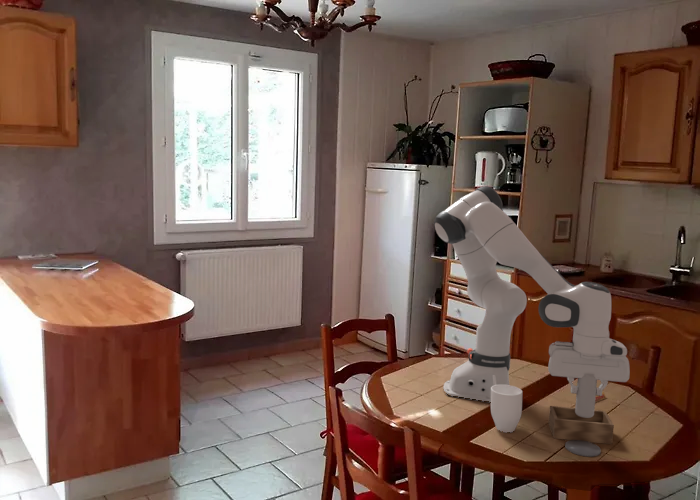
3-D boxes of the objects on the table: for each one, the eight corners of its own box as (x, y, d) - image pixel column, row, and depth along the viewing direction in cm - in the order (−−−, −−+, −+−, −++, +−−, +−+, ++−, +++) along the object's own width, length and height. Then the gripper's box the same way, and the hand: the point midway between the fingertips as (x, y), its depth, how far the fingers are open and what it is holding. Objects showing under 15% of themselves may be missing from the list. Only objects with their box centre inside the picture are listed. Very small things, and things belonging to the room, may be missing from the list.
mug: (520, 437, 176) (522, 396, 175) (488, 433, 179) (489, 392, 177) (521, 421, 187) (523, 382, 186) (491, 418, 190) (492, 379, 188)
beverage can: (595, 419, 166) (598, 375, 164) (575, 417, 167) (579, 373, 165) (592, 412, 170) (596, 370, 169) (573, 410, 171) (577, 368, 170)
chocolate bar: (580, 404, 204) (580, 397, 204) (599, 397, 212) (599, 390, 212) (587, 407, 202) (588, 400, 202) (606, 399, 210) (607, 392, 210)
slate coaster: (568, 454, 166) (568, 452, 166) (562, 440, 175) (562, 438, 175) (603, 458, 165) (604, 456, 165) (596, 443, 174) (596, 441, 173)
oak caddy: (553, 438, 176) (555, 419, 176) (548, 423, 187) (549, 405, 186) (612, 444, 174) (613, 425, 173) (603, 428, 184) (605, 410, 183)
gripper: (551, 343, 165) (547, 394, 167) (633, 350, 161) (628, 401, 163) (548, 337, 171) (544, 386, 173) (627, 343, 167) (622, 393, 169)
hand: (586, 394), depth 168 cm, fingers closed on beverage can, 5 cm apart
